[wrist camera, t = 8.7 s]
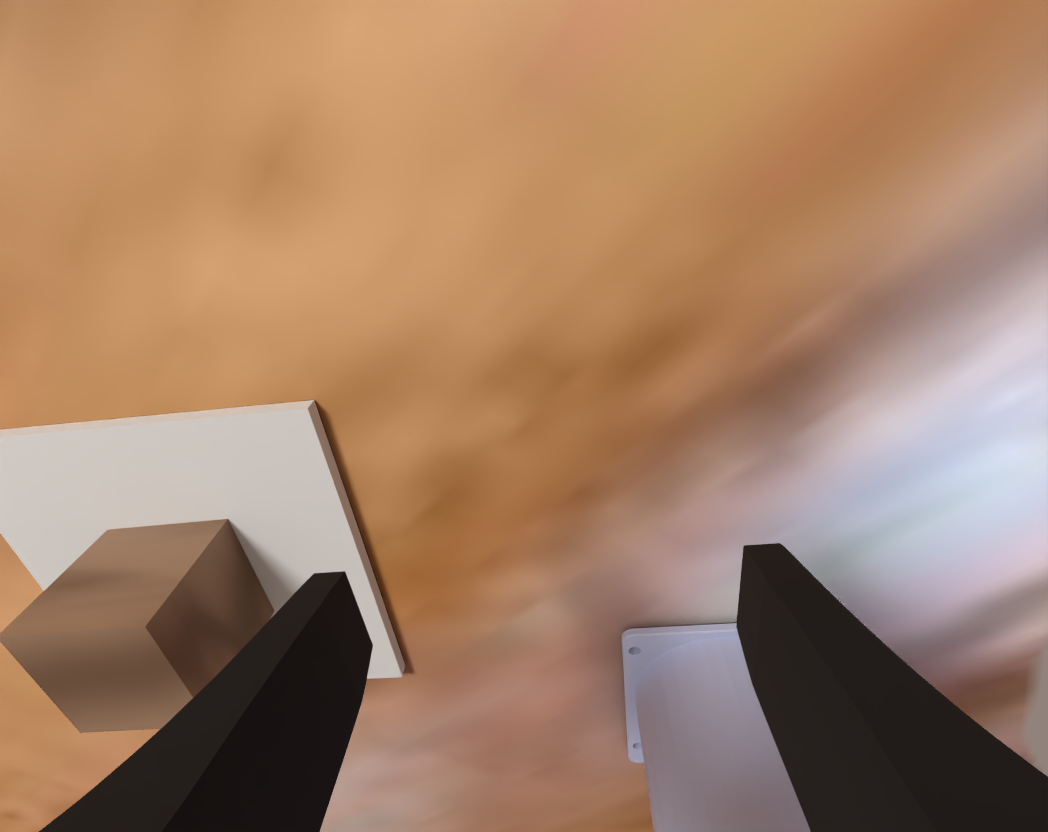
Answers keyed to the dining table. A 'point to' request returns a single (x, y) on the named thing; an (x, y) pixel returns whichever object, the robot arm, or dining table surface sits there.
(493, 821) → the dining table surface
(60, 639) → the walnut cube
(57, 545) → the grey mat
